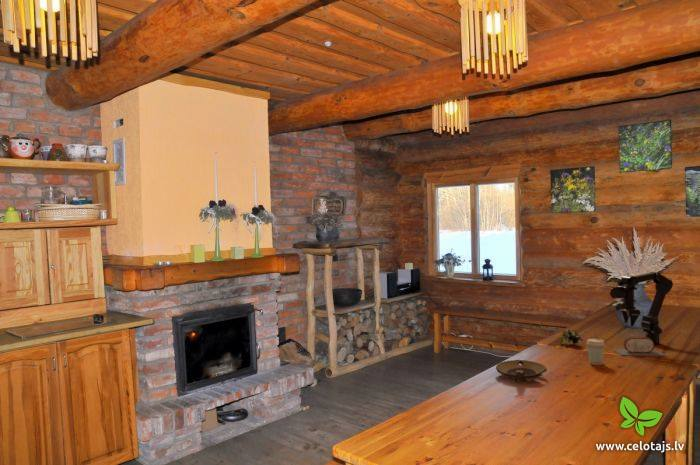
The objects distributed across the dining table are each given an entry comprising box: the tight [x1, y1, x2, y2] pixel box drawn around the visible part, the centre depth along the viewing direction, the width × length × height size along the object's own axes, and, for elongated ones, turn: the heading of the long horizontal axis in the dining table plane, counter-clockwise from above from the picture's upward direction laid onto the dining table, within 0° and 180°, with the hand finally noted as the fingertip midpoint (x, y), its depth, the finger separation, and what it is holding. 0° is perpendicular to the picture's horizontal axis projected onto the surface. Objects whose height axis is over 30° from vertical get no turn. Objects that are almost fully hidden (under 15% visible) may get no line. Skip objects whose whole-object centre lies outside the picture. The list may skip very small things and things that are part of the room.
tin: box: [622, 336, 655, 353], centre depth 282 cm, size 15×3×8 cm, turn 82°
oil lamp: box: [495, 359, 548, 383], centre depth 242 cm, size 22×30×8 cm
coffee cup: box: [586, 338, 606, 366], centre depth 264 cm, size 8×8×12 cm
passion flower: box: [557, 328, 584, 347], centre depth 304 cm, size 11×11×12 cm
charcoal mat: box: [612, 348, 666, 357], centre depth 283 cm, size 22×12×1 cm, turn 82°
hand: (628, 324), depth 301 cm, fingers open, 9 cm apart
